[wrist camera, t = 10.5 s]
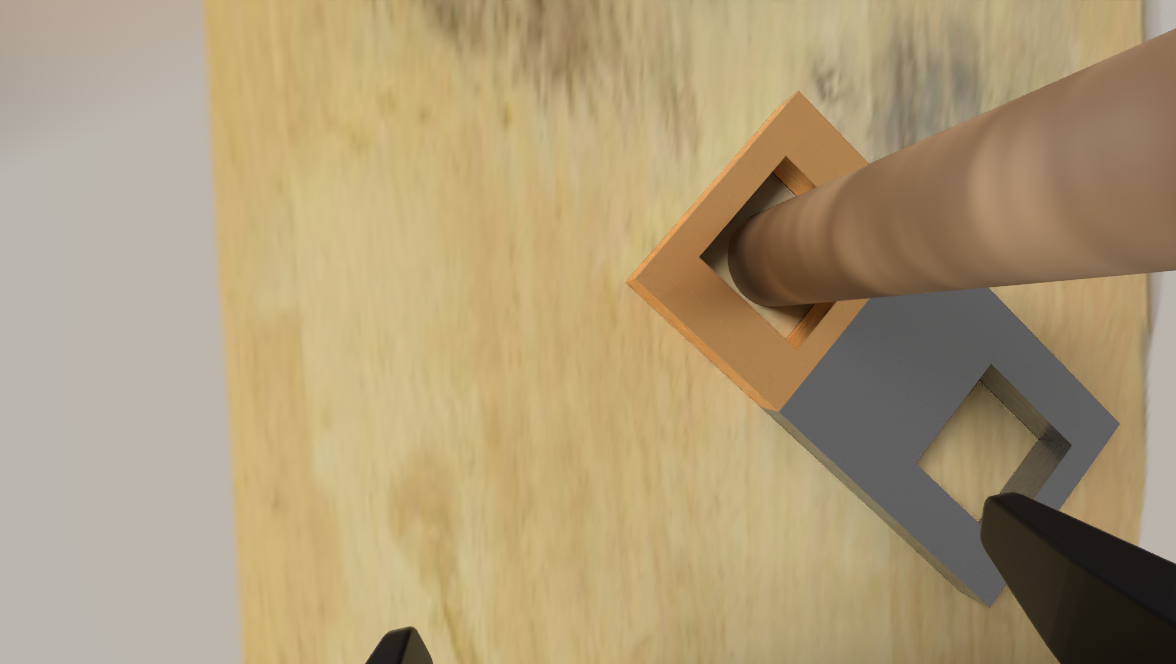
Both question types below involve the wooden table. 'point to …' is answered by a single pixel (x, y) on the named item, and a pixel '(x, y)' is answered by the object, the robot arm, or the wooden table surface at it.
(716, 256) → the wooden table surface
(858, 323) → the rail
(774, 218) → the peg
